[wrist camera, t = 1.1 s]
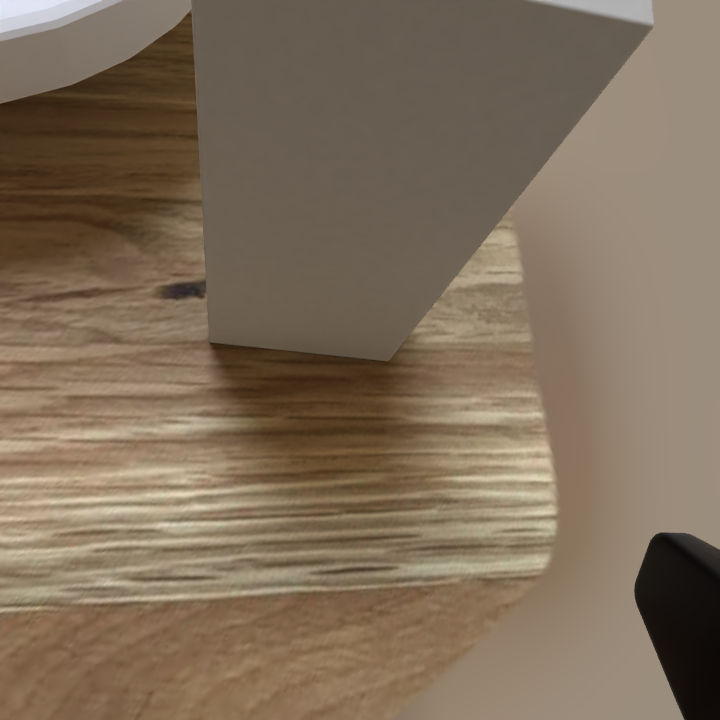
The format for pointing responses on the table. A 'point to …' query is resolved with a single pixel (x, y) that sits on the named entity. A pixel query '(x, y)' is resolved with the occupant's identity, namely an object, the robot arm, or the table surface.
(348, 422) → the table surface
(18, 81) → the bowl
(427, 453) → the table surface
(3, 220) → the table surface
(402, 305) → the white book
